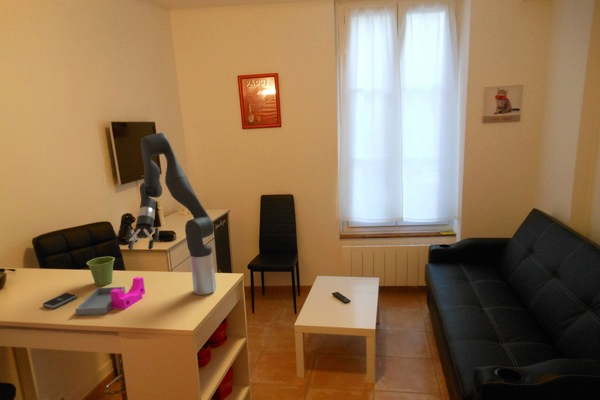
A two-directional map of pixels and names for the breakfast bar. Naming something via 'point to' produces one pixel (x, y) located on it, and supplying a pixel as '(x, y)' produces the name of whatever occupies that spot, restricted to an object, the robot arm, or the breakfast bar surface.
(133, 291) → the toy block
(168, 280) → the breakfast bar surface
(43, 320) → the breakfast bar surface
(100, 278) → the plant pot
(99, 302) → the tray
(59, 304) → the external hard drive
